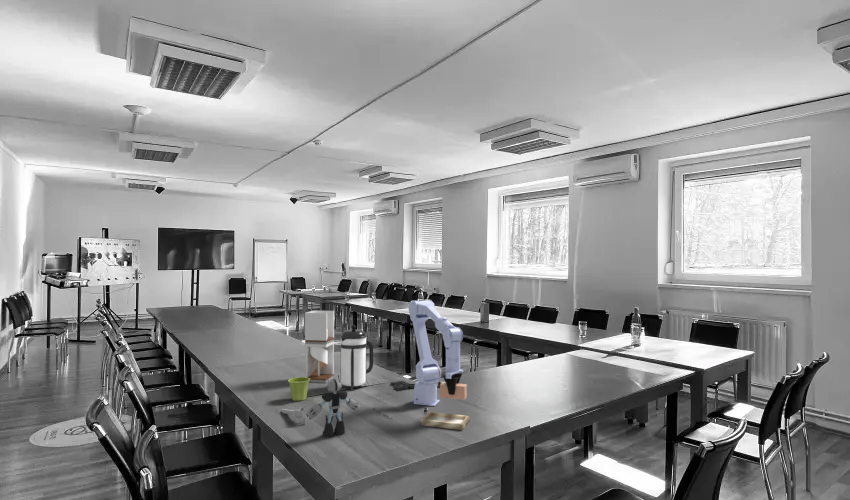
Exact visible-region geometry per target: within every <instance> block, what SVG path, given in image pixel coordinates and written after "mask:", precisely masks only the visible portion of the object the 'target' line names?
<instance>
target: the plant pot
mask: <svg viewBox="0 0 850 500" xmlns="http://www.w3.org/2000/svg"><path fill="white" fill-rule="evenodd" d="M309 380H310V378H307V377H306V376H304V377H303V376H301V377H300V376H298V377H297V376H296V377H292V378H290V379H288V380H287V382H288V383H289V388H290V394H291V395H290V396H291V400H292V401H294V402H299V401H305V400H306V399H307V396H308V395H307V394H308V387H309V383H310V382H309Z"/></svg>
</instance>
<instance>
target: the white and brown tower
mask: <svg viewBox="0 0 850 500" xmlns="http://www.w3.org/2000/svg"><path fill="white" fill-rule="evenodd" d="M304 347H305V377H307V378H310V380H309V383H321V384H322V383H323V384H328V378H329V382H330V381H332V380H333V379H335V378H334V377H335V373H334V372H335V367H334V366H335V362H334V361H335V355H334V354H335V311H334V310H311V311H307V312H305V313H304Z"/></svg>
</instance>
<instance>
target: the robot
mask: <svg viewBox="0 0 850 500" xmlns="http://www.w3.org/2000/svg"><path fill="white" fill-rule="evenodd" d="M342 387H343V385H342V383H341V382H340V375H337V379H335V378H333V379H331V380H330V381H329V378H328V382H327V385H326V388H327V389H326V390H328V392H325V393H323V394H322V395H321V399H322V400H323V401H322V402H320V403H316V404H314V405H313V406H312V407H311V408H309V410H308V411H307V412H306V413H305V414H306V415H305V416H306V417H307V418H308V419H309V420H312V419H314V418H315V417H317V416H318V415H319V413H321V411H322V409H323V406H324V405H325V404H326V403H328V409H329V411H328V416H327V415H325V425H324V428H323V430H322V435H321V436H322V437H323V438H332V437H334V436H335V435H337V436H342V435H345V434H346V428H345V427H346V426H345V423H344V420H343V419H344V418H343V416H344V414H343V411H342V412H341V409H340V408H341V403H342V401H344V402H345V403H346V405H347V407H348V408H349V409H350V410H351V411H354V412H358V411H359V410H360V409H361V405H360V404H359V403H358V402H357V401H356V399H355V400H354V399H352V398H347V397H348V392H347V391H346V390H341V389H342ZM333 414H335V415H333ZM334 417H335V419H336V422H335V427H334V428H333V424H332V422H333V419H334Z"/></svg>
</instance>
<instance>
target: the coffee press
mask: <svg viewBox="0 0 850 500" xmlns="http://www.w3.org/2000/svg"><path fill="white" fill-rule="evenodd" d="M356 328H357V326H356V325H355V324H352V325H351V329H346V330H344V331H343V332H341V335H339V336H340V370H339V371H340V372H339V373H340V375H339V379H340V383H341V384H342V386H345V387H350V391H354V390H355V387H358V386H362V385H363V386H365V387H368V388H369V385H370V384H369V382H368V380H367V374H369V373H370V372H371V371H373V367H374V345H373V343H372V342H371V341H368V340H367V337H368V336H367V333H366V332H365V331H364V330H362V329H356ZM367 347H368V348H369V350H368V352H369V354H368V355H369V365H368V368H367ZM365 383H366V384H365Z"/></svg>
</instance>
